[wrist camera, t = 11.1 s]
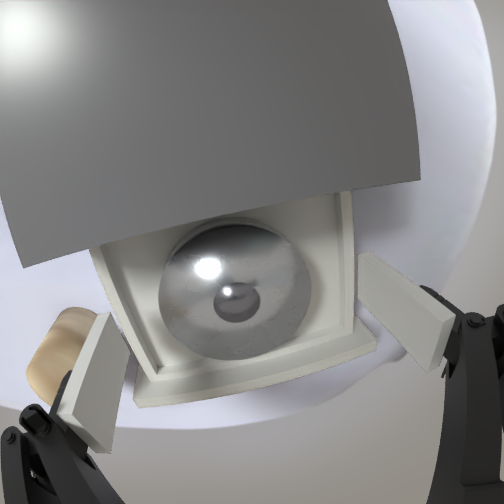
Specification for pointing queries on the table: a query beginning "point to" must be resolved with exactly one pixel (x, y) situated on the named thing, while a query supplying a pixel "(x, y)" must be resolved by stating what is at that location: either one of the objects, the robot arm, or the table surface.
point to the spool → (59, 352)
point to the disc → (233, 289)
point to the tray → (257, 368)
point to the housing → (191, 112)
